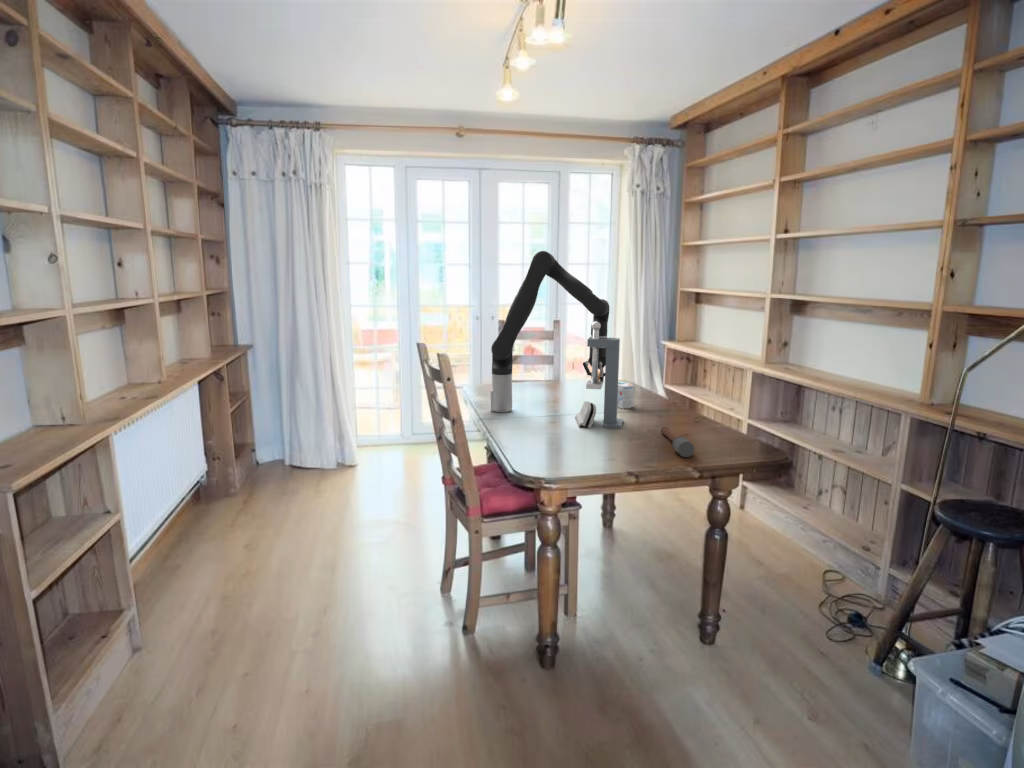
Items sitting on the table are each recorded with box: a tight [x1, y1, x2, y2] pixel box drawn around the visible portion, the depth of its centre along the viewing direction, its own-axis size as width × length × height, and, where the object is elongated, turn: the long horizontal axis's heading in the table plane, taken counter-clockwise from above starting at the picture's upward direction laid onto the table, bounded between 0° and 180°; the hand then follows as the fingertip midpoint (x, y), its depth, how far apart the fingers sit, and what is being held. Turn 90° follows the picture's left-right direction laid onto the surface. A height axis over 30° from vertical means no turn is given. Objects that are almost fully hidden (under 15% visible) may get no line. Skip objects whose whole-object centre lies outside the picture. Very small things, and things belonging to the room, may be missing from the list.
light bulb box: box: [617, 381, 636, 410], centre depth 276 cm, size 11×7×11 cm, turn 25°
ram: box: [585, 321, 604, 390], centre depth 246 cm, size 6×20×27 cm, turn 167°
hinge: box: [574, 400, 597, 429], centre depth 246 cm, size 17×5×10 cm, turn 179°
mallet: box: [660, 426, 695, 458], centre depth 215 cm, size 6×6×30 cm
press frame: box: [587, 336, 624, 430], centre depth 241 cm, size 15×12×36 cm
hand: (597, 384), depth 256 cm, fingers closed on ram, 2 cm apart
